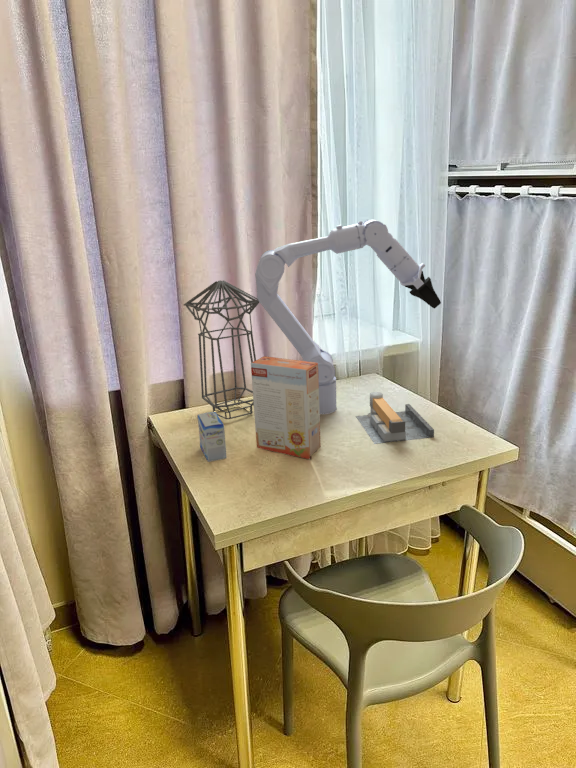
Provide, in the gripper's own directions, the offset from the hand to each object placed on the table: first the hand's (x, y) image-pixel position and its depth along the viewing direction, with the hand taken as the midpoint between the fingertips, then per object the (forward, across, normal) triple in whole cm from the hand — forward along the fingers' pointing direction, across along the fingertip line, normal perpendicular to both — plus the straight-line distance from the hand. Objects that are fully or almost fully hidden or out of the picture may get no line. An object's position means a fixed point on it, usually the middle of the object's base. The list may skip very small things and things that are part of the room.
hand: (434, 301), depth 134 cm
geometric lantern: (-14, -2, +58) cm, 59 cm away
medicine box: (-14, -24, +58) cm, 65 cm away
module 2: (+12, -19, +27) cm, 35 cm away
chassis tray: (+13, -14, +27) cm, 33 cm away
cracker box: (-3, -23, +45) cm, 51 cm away
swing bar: (+9, -15, +26) cm, 31 cm away
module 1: (+11, -13, +28) cm, 33 cm away
